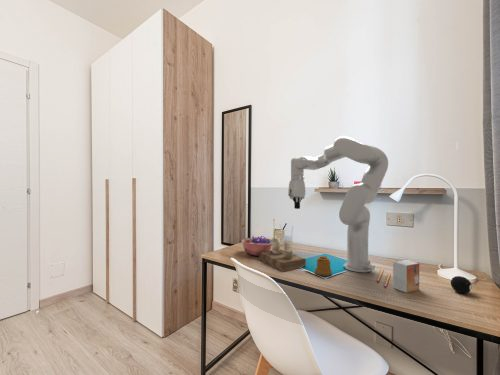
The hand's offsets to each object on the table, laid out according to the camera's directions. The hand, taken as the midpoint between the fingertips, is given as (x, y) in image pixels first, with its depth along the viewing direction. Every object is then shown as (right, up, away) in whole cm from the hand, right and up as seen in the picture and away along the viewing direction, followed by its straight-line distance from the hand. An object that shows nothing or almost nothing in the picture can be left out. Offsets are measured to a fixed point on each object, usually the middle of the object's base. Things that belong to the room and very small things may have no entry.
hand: (297, 208), depth 147 cm
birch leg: (-14, -27, -15) cm, 34 cm away
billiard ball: (+52, -28, -55) cm, 80 cm away
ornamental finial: (+6, -28, -35) cm, 45 cm away
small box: (+33, -28, -51) cm, 67 cm away
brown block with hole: (-12, -27, -19) cm, 35 cm away
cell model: (-24, -27, -3) cm, 37 cm away
